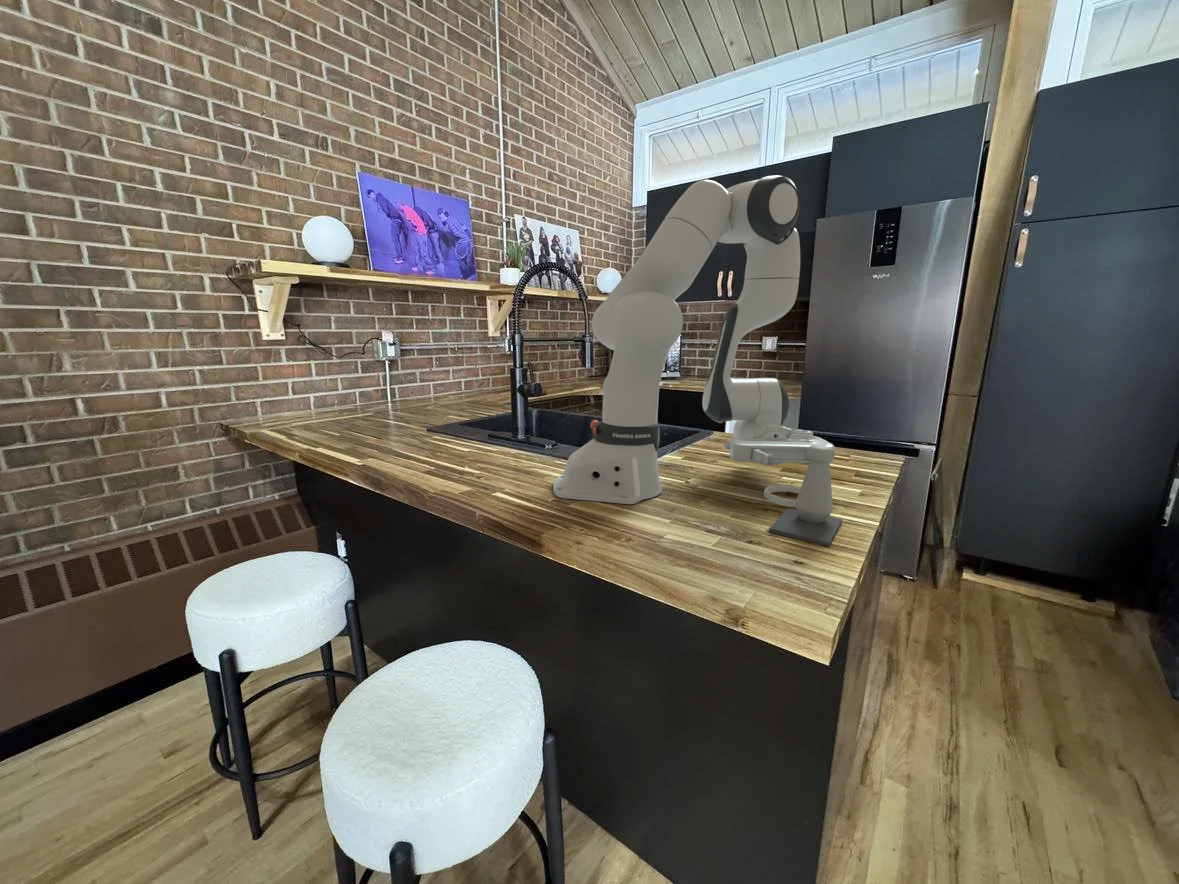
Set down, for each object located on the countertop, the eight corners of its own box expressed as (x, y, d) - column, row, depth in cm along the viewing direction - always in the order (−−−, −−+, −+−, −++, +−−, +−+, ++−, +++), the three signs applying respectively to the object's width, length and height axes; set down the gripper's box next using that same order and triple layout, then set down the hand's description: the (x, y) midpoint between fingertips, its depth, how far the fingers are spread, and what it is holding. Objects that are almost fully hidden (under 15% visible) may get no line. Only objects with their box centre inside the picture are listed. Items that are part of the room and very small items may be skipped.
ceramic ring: (774, 506, 89) (775, 500, 89) (757, 489, 99) (758, 484, 99) (828, 508, 89) (829, 502, 89) (805, 491, 99) (806, 485, 98)
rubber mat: (829, 546, 73) (829, 542, 73) (769, 531, 78) (769, 528, 78) (841, 522, 82) (842, 519, 82) (787, 510, 87) (788, 507, 87)
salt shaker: (834, 527, 78) (844, 451, 76) (797, 523, 80) (806, 449, 77) (826, 514, 84) (835, 443, 81) (791, 511, 85) (799, 441, 82)
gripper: (722, 428, 102) (740, 443, 88) (817, 430, 101) (850, 445, 88) (720, 457, 103) (737, 475, 90) (814, 459, 103) (846, 478, 89)
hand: (794, 460), depth 89 cm, fingers open, 8 cm apart
